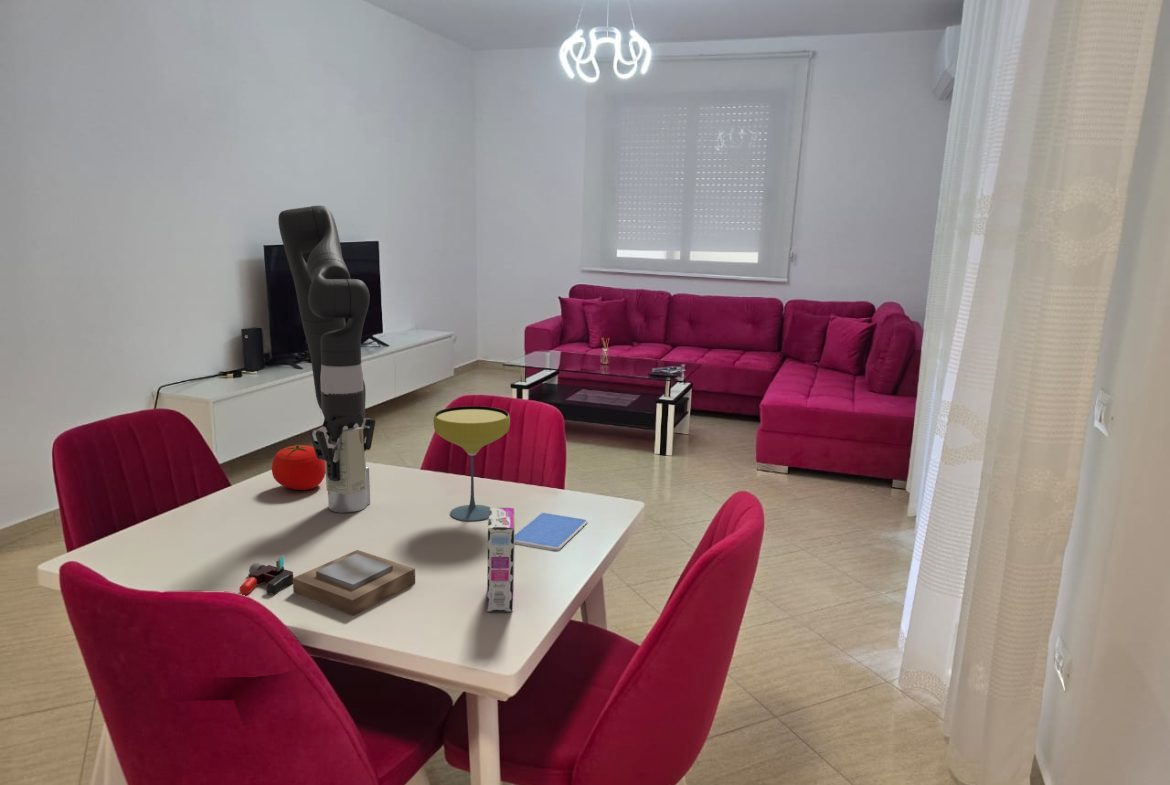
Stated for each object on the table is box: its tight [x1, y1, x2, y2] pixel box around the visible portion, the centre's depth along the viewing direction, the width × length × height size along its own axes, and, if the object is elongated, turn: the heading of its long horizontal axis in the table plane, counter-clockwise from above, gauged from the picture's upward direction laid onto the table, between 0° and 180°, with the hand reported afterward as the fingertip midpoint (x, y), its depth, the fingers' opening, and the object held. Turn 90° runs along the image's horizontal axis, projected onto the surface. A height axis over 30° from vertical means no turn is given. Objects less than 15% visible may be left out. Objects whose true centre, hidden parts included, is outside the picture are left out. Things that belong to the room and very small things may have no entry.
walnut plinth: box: [292, 549, 416, 616], centre depth 150 cm, size 16×16×4 cm
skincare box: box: [325, 427, 366, 495], centre depth 146 cm, size 6×4×12 cm
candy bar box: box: [486, 507, 516, 613], centre depth 146 cm, size 11×5×16 cm, turn 5°
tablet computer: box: [515, 512, 589, 552], centre depth 181 cm, size 19×13×1 cm, turn 160°
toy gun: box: [238, 555, 294, 595], centre depth 150 cm, size 10×12×5 cm
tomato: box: [271, 444, 326, 491], centre depth 205 cm, size 13×14×12 cm
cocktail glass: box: [433, 405, 511, 522], centre depth 188 cm, size 18×18×25 cm
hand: (345, 476), depth 147 cm, fingers closed on skincare box, 4 cm apart
